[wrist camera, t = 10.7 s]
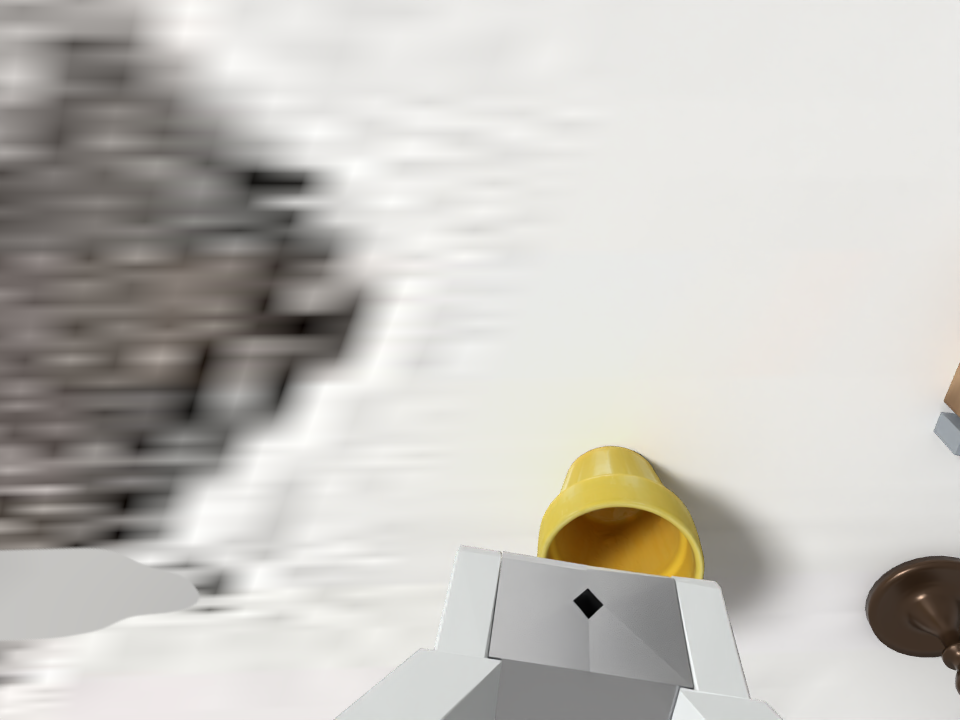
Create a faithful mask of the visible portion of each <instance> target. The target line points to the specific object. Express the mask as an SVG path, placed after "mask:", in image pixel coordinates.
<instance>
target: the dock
mask: <svg viewBox="0 0 960 720" xmlns="http://www.w3.org/2000/svg"><path fill="white" fill-rule="evenodd" d="M934 432H935V434H936V435H937V436H938V437H939V438H940V439H941V440H942V441H943V443H944V444H945V445H946V446H947V447H948V448H949V449H950V450H951V451H952V453H953V454H954V455H959V456H960V417H959V416H958V415H957V414H953V413H945V412H941V414H940V417H939V419H938V422H937V424H936V427H935V429H934Z"/></svg>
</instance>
